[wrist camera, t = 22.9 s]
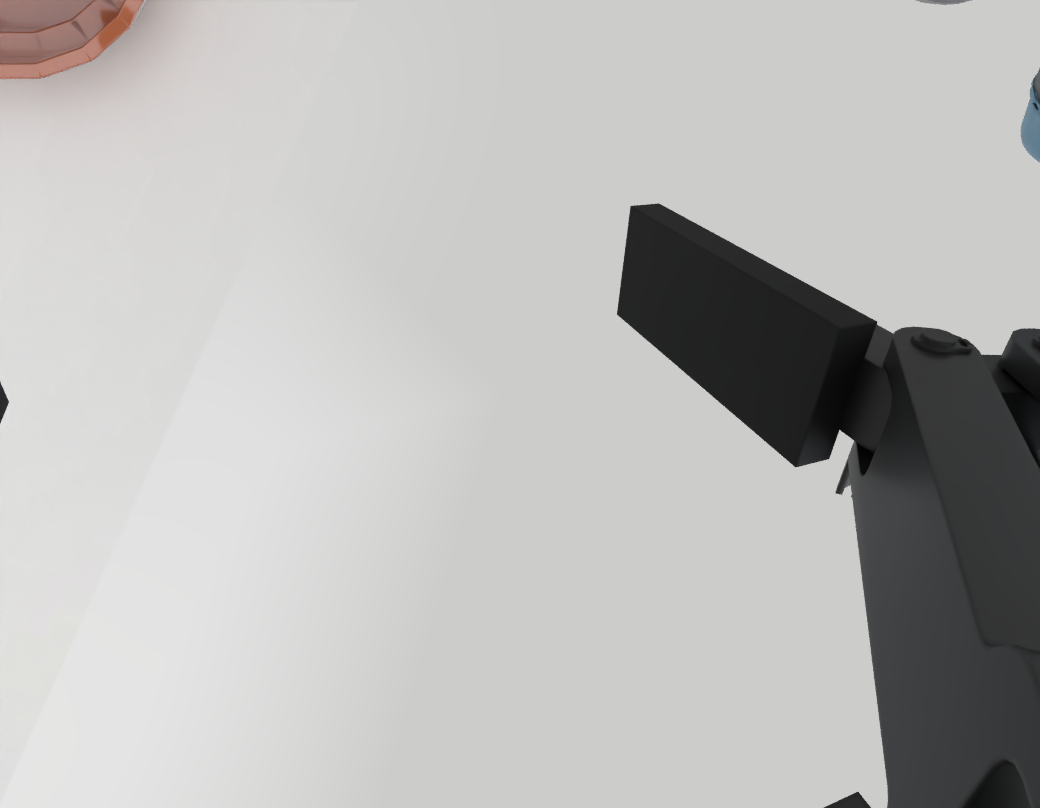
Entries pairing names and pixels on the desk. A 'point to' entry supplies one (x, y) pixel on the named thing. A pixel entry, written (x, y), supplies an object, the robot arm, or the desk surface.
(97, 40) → the bowl
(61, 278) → the desk surface
